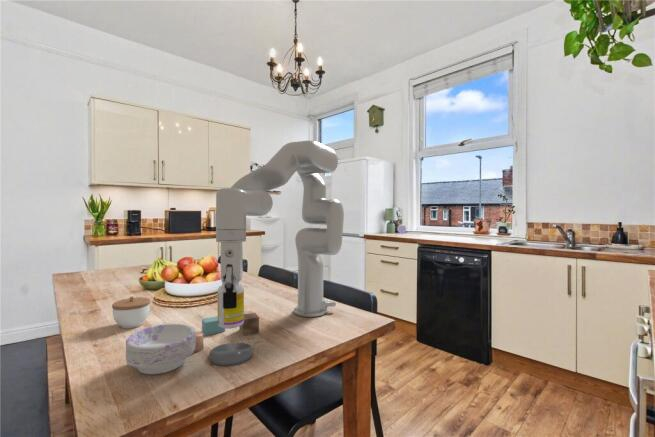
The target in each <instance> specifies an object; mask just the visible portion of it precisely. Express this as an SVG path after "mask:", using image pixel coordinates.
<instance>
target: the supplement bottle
mask: <svg viewBox="0 0 655 437" xmlns="http://www.w3.org/2000/svg"><path fill="white" fill-rule="evenodd" d="M223 277H224V276H223ZM232 280H234V278H232ZM221 283H222V284H221V285H220V286H219V287H218V288H217V316H218V326H219V327H221V328H225V330H226V329H227V330H228V329H229V330H230V329H236V328H239V326H241V325H242V324H243V323H244V314H245V297H244V296H245V289H244V286H243V285H241V284H240V281H239V280H236V289H235V292H237V306H236V308H230V309H224V308H223V292H224V282H223V281H222V280H221Z"/></svg>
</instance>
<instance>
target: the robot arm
mask: <svg viewBox="0 0 655 437" xmlns="http://www.w3.org/2000/svg"><path fill="white" fill-rule="evenodd" d="M338 166H339V158H338V155H337V153H336V151H335V150H334V149H332V148H331V147H330V146H326V144H323V143H320V142H319V141H314V140H300V141H291V142H288V143H286V144H284V145H283V146H281V148H279V150H278V151H277V152H276V153H275V154H274V155H273V156H272V157H271V159H269V160H268V162H266V163H265V164H264V165H262V166H260V167H258V168H256V169H255V170H252V171H251V172H249V173H247V174H245V175H244V176H242V177H241V178H239V179H238V180H237V181H235V183H233V185H232V186H231V187H223V188H222V187H221V188H219V189H217V191H216V193H215V242H216V243H220V279H221V280H222V281H223V282H224V292H223V308H224V309H230V308H236V306H237V292H235V289H236V280H239V281H241V280H242V279H243V276H244V272H243V271H244V270H243V269H244V268H243V267H244V265H243V263H244V261H243V260H244V259H243V258H244V257H243V256H244V255H243V250H244V249H243V243H244V242H247V217H262V216H266V215H267V214H268V213H270V212H271V209H272V208H273V204H274V202H273V197H272V195H271V194H270V193H269V192H268V191H272V190H275V189H278V188H280V187H283V186H285V185H286V184H287V183H288V182H289V180H290V179H291V178H292V177H293V176H294V174H295V173H296V172H297V174H298V176H299V177H300V179H301V182H302V186H303V194H302V204H301V205H302V207H301V208H302V209H301V218H302V220H303V222H304V223H306V224H308V225H322V226H323V225H324V226H326V228H323V227H322V228H321V227H305V228H301V229H299V230H298V232H296V235H295V239H294V241H295V248H296V253H297V254H296V255H297V305H296V306H294V307H293V313H294V314H295V316H298V317H304V318H315V317H321V316H324V315H326V313H328V308H329V307H333V308H334V307H336V305H337V302H336V301H333V300H330V299H329V300H325V299H324V263H323V260H322V257H321V256H320V255H325V256H334V255H337V254H338V253H340V251H341V249H342V243H343V236H344V235H343V233H344V232H343V231H344V221H345V220H344V218H345V217H344V216H345V215H344V214H345V212H344V206H343V204H342V203H341V201H339V200H338V199H336V198H326V195H327V184H326V182H325V181H324V179H323V178H322V176H320V174H330V173H334V172H335V171H336V170H337V168H338ZM223 276H224V277H223ZM232 278H234V280H232ZM222 281H221V282H222Z"/></svg>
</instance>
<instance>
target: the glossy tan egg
mask: <svg viewBox="0 0 655 437" xmlns="http://www.w3.org/2000/svg"><path fill="white" fill-rule="evenodd" d="M195 332H196V333H195V350H194V352H193V353H199V352H201V351H202V350H204V333H203V332H202V331H195Z"/></svg>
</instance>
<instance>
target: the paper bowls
mask: <svg viewBox="0 0 655 437" xmlns="http://www.w3.org/2000/svg"><path fill="white" fill-rule="evenodd" d="M196 332H197V331H196V329H195V328H194V327H193V326H191V325H190V324H189V325H188V324H185V323H172V322H171V323H170V322H169V323H162V324H156V325H152V326H148V327H144V328H141V329H139V330H137V331H134V332H133V333H131V334H130V335H129V336H128V337H127V339H126V340H125V362H126V363H127V365H128V366H130V367H132V368H136V369H137V370H138V371H139V372H140V373H142V374H145V375H162V374H166V373H168V372H169V373H170V372H171V371H174V370H176V369H178V368H179V367H180V366H182V365H183V364H184V363H185V362H186V359H187V358H189V357H190V356H191V355H192V354H193V353H195V352H194V350H195V333H196Z"/></svg>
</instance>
